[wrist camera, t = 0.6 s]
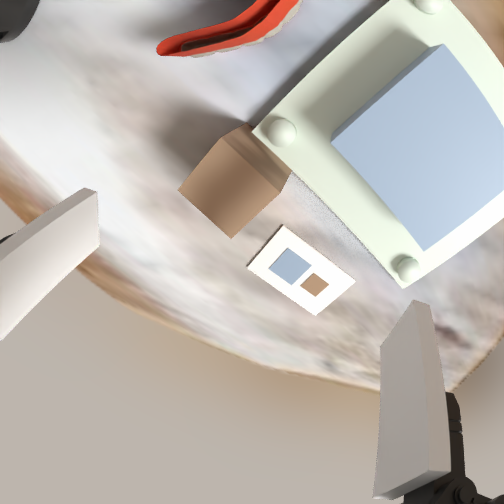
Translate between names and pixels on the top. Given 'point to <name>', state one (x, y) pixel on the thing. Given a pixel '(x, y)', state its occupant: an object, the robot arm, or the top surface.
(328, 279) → the page
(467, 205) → the base brick
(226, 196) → the walnut block
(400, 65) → the build plate
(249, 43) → the toy
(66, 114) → the top surface
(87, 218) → the robot arm
